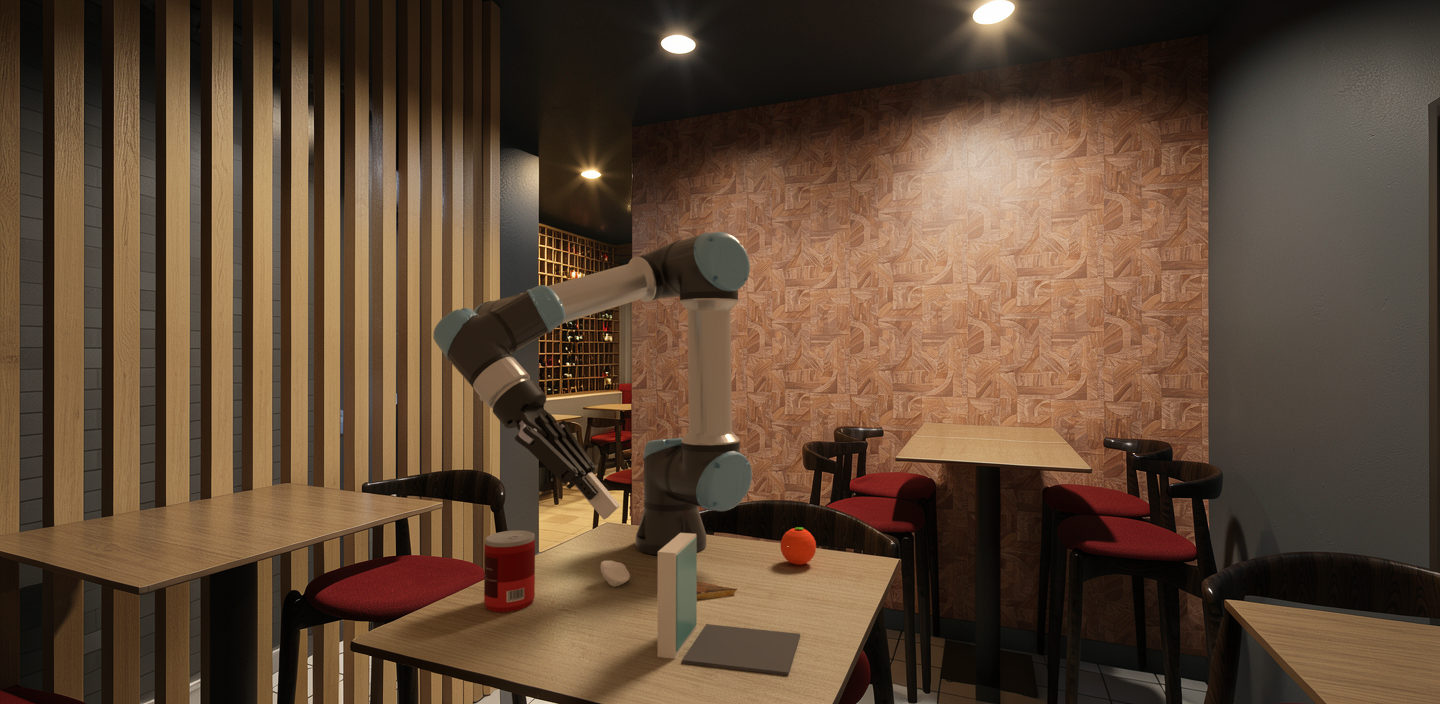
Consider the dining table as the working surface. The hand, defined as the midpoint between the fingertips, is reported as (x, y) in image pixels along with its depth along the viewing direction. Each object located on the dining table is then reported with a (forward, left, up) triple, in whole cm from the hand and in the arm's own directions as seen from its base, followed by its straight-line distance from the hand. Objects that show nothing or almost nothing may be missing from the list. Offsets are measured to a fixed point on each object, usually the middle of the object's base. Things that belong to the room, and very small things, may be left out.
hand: (612, 512), depth 95 cm
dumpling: (-20, -8, -18) cm, 28 cm away
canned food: (-7, -21, -18) cm, 28 cm away
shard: (-20, +7, -18) cm, 28 cm away
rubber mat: (0, +20, -18) cm, 26 cm away
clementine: (-40, +22, -18) cm, 49 cm away
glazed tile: (0, +10, -18) cm, 20 cm away
